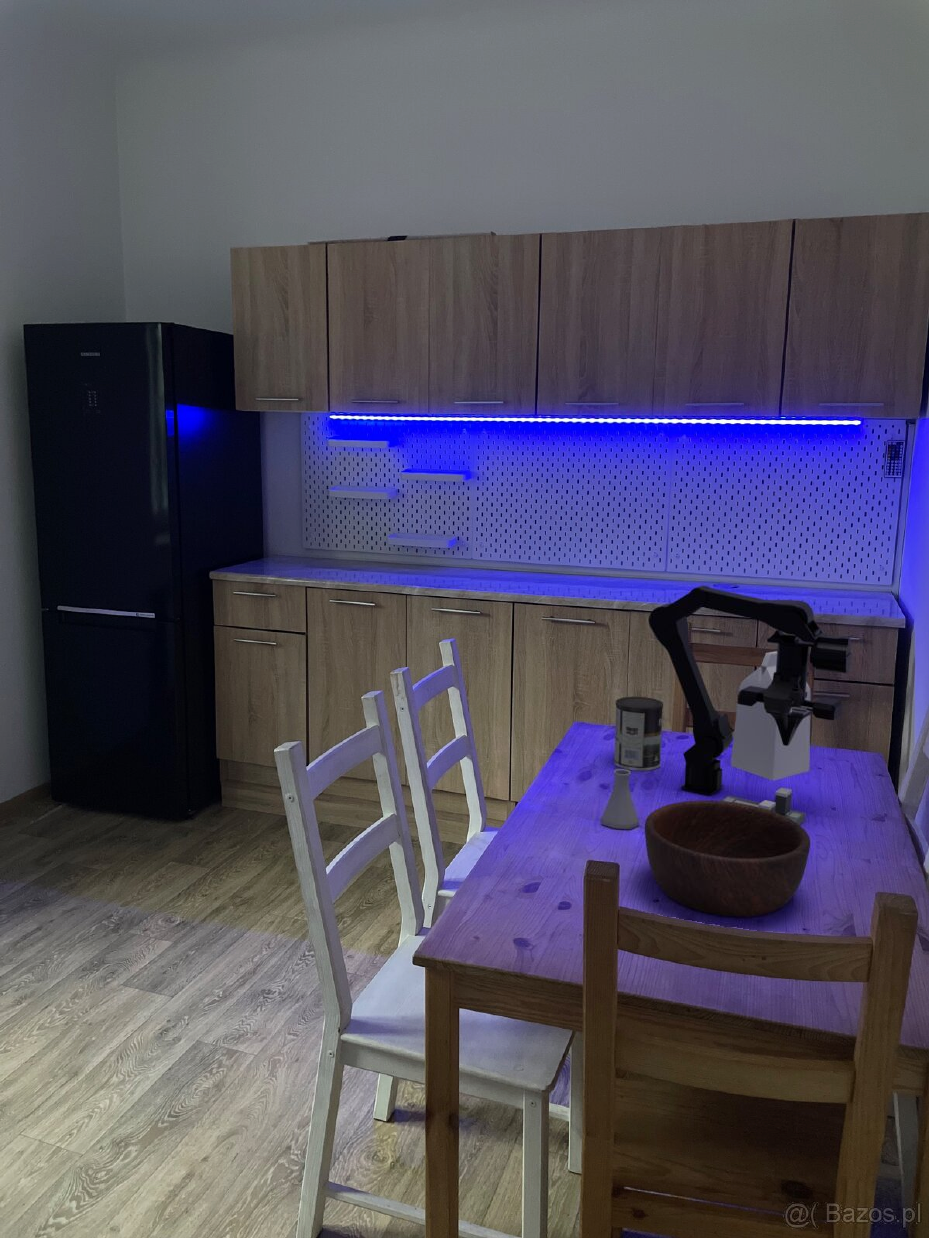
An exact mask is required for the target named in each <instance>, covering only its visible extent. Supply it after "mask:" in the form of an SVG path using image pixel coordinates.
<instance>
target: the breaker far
mask: <svg viewBox="0 0 929 1238" xmlns="http://www.w3.org/2000/svg"><path fill="white" fill-rule="evenodd" d="M792 794H793V790H792V789H791V788H790V789H789V788H786V787H785V788H784V787H780V788H779V789H777V790H776V791H775V795H774V802H776V805H775V812H776V813H780V814H784V815H785V814H786V813H788V812H789V811H790V810H792V809H791V807H792V796H793V795H792Z"/></svg>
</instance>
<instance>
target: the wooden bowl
mask: <svg viewBox="0 0 929 1238" xmlns="http://www.w3.org/2000/svg"><path fill="white" fill-rule="evenodd" d="M644 836H645V837H644V838H645V846H646V847H645V848H646V854H647V859H648V864H649V868H650V870H651V872H652V875H653V877H654V879H655V881H656V883H657V884H658V886H659V888H660V889H661V890H662V891H663V892H664V893H665V894H666V895H667V896H668V897H669V898H671V899H672V900H673V901H675V902H677V903H679V904H680V905H683V906H685V907H687V908H690V909H693V910H696V911H699V912H702V913H707V914H711V915H716V916H723V917H736V918H737V917H738V918H739V917H740V918H741V917H745V918H746V917H747V918H748V917H757V916H764V915H767V914H770V913H774V912H775V911H777V910H779V909H781V908H783V907H784V906H785V905H787V904H788V903H789V902H790V900H791V899H792V898H793V897H794V895H795V893H796V892H797V890H798V888H799V886H800V884H801V882H802V881H803V877H804V874H805V870H806V866H807V864H808V858H809V854H810V849H811V839H810V838H811V837H810V836H809V834H808V831H806V830H805V828H803V827H802V826H801V825H799V824H797V823H796V822H794V821H793V820H791V819H789V818H787V817H785V816H783V815H781V814H778V813H776V812H773V811H770V810H767V809H763V808H760V807H756V806H751V805H747V804H741V803H735V802H726V801H722V800H705V799H704V800H690V801H689V800H688V801H681V802H678V801H677V802H673V803H671V804H666V805H664V806H661V807H658V808H657V809H655V810H652V812H651V813H650V814H649V815H648V816H647V817H646V819H645V822H644Z"/></svg>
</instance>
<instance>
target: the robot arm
mask: <svg viewBox="0 0 929 1238" xmlns="http://www.w3.org/2000/svg"><path fill="white" fill-rule="evenodd" d="M702 608H705V609H707V610H713V611H718V612H720V613H721V612H722V613H726V614H729V615H734V616H735V615H736V616H739V617H744V618H748V619H751V620H752V619H753V620H756V621H760V622H762V623H763V624H765V625H767V626H768V627H771V628H773V629H775V631H774V633H773V634H772V635H771V636H769V638H767V639H766V642H768V643H770V644H771V643H772V644H777V650H776V651H777V661H776V672H774V675H773V680H772V683H771V685H769V686H768V688H767V689H766V688H761V687H754V686H749V687H746V688H744V689H742V690H741V691H740V692H739V691H738V694H737V702H736V704H740V705H746V706H753V705H754V704H756V703H757V702H762V703H764V709H765V710H766V713H769V714H771V715H772V716H773V718H774V719H775V721H776V724H777V726H778V729H779V733H780V736H781V739H782V743H783V745H784V746H788V745H789V744H790V742H791V740H792V738H793V736H794V734H795V732H796V730H797V728H798V726H799V724H800V723H801V721H802V720H803V719H804V718H805V717H807V716H809V715H810V716H811V715H813V716H814V717H815V718H816V719H820V720H826V721H834V720H835V721H836V719H838V718H839V717H841V716H842V715H843V711H844V705H843V703H842V701H841V700H838V699H835V698H829V697H821V698H819V699H817V700H816V701H815V700H810V701H809V700H805V698H806V697H807V692H806V682H807V679H808V678H809V675H810V674H809V673H810V671H809V670H808V666H809V665H808V664H809V663H810V665H811V666H812V667H814V668H815V671H820V672H821V671H823V672H829V673H840V674H846V675H848V674H849V671H850V669H851V668H850V667H851V664H852V655H853V654H852V649H851V647H852V646H851V637H849V636H830V635H824V632H823V630H822V629H821V627H819V625H818V624H817V622H816V620H815V619H814V611H813V609H812V607H811V606H810V604H809V603H808V602H806V601H803V600H796V599H795V600H793V599H762V598H758V597H753V596H749V595H744V594H739V593H735V592H730V591H727V590H726V591H725V590H721V589H717V588H712V587H710V586H708V585H700V586H697V587H694V588H692V589H691V590H690V591H689V592H688V593H686V594H685V595H683V596H682V597H680V598H678V599H677V600H674V602H669V603H668V602H667V603H666V604H662V605H660V606H657V607H656V608H654V609H652V611H651V612H650V614H649V616H648V625H649V627H650V629H651V631H652V632H653V635H654V636H655V637H656V640H657V641H658V642H659V644H661V645H662V647H663V648H665V649H666V651H667V653H668V655H669V659H670V661H671V663H672V665H673V669H674V671H675V674H676V677H677V680H678V682H679V685H680V687H681V689H682V692H683V695H684V697H685V701H686V703H687V705H688V708H689V711H690V713H691V716H692V735H693V741H694V744H692V746H690V747H689V748H688V749H687V750H685V751H684V752H683V753H682V754H683V758H684V760H685V767H684V768H685V769H684V770H685V772H684V784H682V785H680V789H681V790H685V791H689V792H691V793H697V794H701V795H705V796H712V795H714V794H715V793H716V792H719V791H720V790H721V789H722V788H723V768H721V760H718V758H720V756H721V755H722V754H723V753H724V752H725V751H726V750H728V748H729V747H731V744H733V739H734V736H733V734H734V730H735V729H733V727H732V726H731V724H730V720H729V717H728V716H729V715H728V714H727V713H726V712H725V713H723V714H720V713H719V712H718V711H717V710H716V709H715V707H714V706H713V703H712V700H711V697H710V694H709V693H708V690H707V687H706V684H705V682H704V680H703V679H704V678H703V676H702V673H701V671H700V669H699V666H698V663H697V660H696V658H695V656H694V653H693V651H692V647H691V646H690V640H689V638H690V637H689V635H690V633H689V624H688V619H687V618H688V617H690V616H692V615H693V614H694V613H697V611H699V610H700V609H702ZM809 651H810V653H809ZM791 708H792V712H791V713H790V710H791ZM732 733H733V734H732Z"/></svg>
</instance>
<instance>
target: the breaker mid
mask: <svg viewBox="0 0 929 1238" xmlns="http://www.w3.org/2000/svg"><path fill="white" fill-rule="evenodd" d="M775 805H776V802H775V801H772V800H766V799H765V800H763V801H760V804H759V807H760V808H763V809H767V810H770V811H773V812H775Z"/></svg>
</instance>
